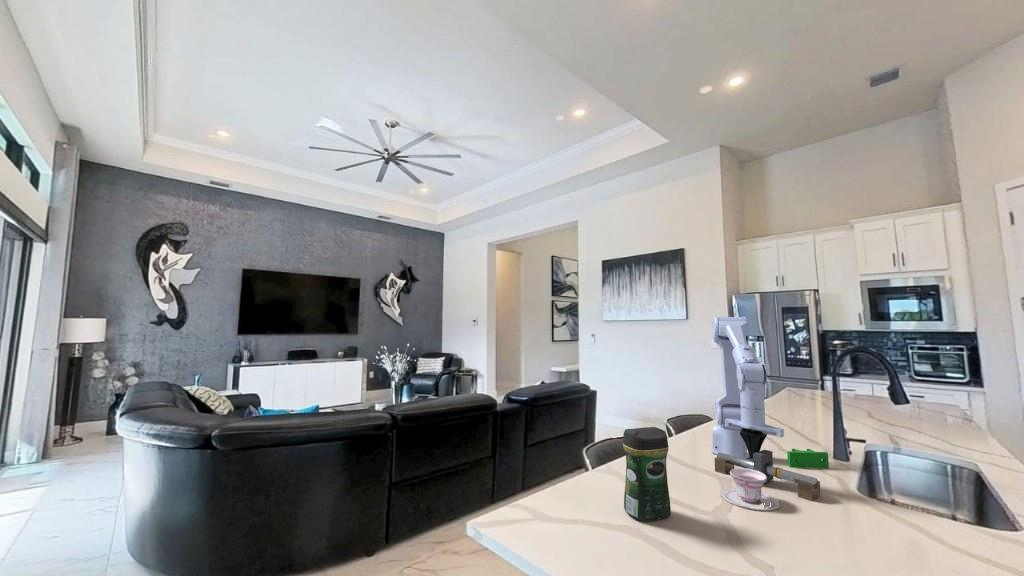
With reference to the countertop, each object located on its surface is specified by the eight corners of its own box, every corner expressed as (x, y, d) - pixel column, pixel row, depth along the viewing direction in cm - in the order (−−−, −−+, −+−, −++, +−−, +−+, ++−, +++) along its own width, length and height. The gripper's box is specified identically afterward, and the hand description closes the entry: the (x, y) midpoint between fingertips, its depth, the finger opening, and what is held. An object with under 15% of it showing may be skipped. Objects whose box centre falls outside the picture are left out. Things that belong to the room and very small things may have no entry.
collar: (753, 482, 110) (752, 453, 111) (765, 477, 114) (764, 449, 115) (761, 484, 109) (760, 455, 109) (773, 479, 112) (772, 451, 113)
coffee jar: (654, 503, 98) (652, 422, 100) (676, 518, 91) (675, 431, 92) (617, 508, 95) (616, 425, 97) (637, 525, 88) (636, 434, 89)
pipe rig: (714, 470, 120) (714, 453, 120) (724, 467, 123) (723, 450, 123) (812, 501, 100) (811, 479, 101) (820, 496, 103) (819, 475, 103)
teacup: (725, 487, 109) (725, 462, 109) (780, 498, 102) (779, 472, 103) (718, 503, 99) (717, 476, 100) (778, 517, 92) (776, 488, 93)
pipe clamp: (819, 464, 127) (819, 449, 127) (828, 469, 123) (828, 453, 123) (782, 463, 127) (781, 448, 127) (790, 467, 123) (789, 451, 124)
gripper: (718, 404, 118) (720, 453, 117) (774, 414, 107) (776, 469, 105) (731, 401, 122) (733, 449, 121) (786, 410, 111) (788, 464, 109)
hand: (754, 458), depth 114 cm, fingers closed
